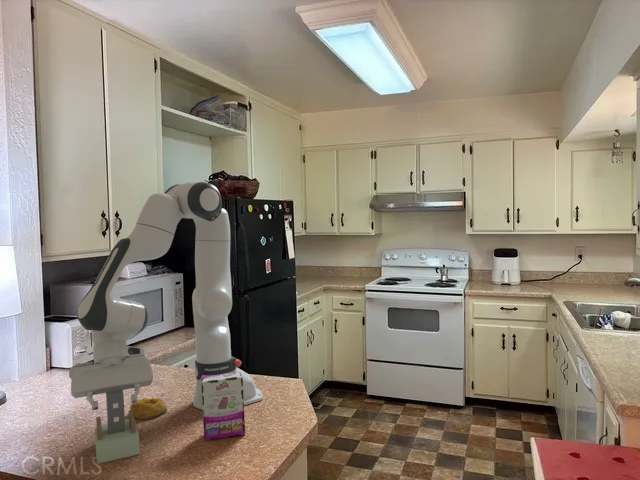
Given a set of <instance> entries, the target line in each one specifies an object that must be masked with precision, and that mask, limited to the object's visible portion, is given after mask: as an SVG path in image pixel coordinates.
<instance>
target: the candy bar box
mask: <svg viewBox="0 0 640 480" xmlns="http://www.w3.org/2000/svg"><path fill="white" fill-rule="evenodd" d="M201 388H202V407H203V409H202V422H203V423H202V424H203V437H204V442H209V441H216V440H222V439H227V438H234V437H240V436H245V435H246V424H245V423H246V422H245V421H246V419H245V418H246V417H245V405H244V398H243V378H242V375H241V372H237V373H229V374H221V375H214V376H206V377H201Z"/></svg>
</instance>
